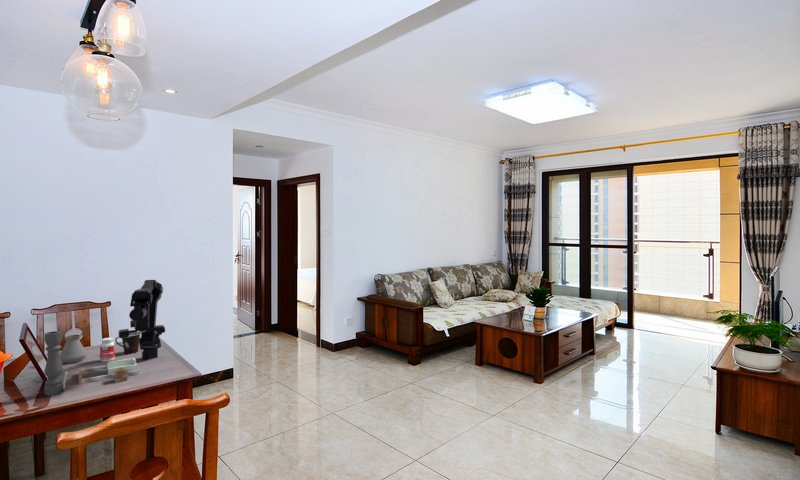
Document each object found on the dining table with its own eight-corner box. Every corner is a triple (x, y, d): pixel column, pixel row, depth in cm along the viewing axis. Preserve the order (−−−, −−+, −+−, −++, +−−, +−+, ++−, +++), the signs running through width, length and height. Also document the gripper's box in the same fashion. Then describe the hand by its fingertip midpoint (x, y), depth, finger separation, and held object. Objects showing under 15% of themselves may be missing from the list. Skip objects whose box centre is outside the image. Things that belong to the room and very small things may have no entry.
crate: (135, 366, 205) (135, 357, 205) (137, 373, 195) (137, 364, 195) (107, 370, 198) (107, 361, 198) (108, 377, 189) (108, 369, 188)
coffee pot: (78, 364, 210) (78, 334, 210) (53, 365, 208) (52, 335, 208) (102, 351, 231) (101, 324, 231) (79, 352, 229) (78, 325, 229)
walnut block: (126, 380, 189) (126, 366, 189) (127, 383, 186) (127, 369, 186) (114, 382, 187) (114, 368, 187) (115, 385, 183) (114, 371, 183)
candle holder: (51, 390, 177) (50, 330, 177) (67, 389, 178) (66, 330, 177) (40, 395, 171) (39, 334, 170) (56, 395, 172) (55, 334, 171)
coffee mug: (144, 351, 233) (144, 333, 233) (129, 355, 225) (129, 336, 225) (128, 348, 237) (128, 331, 237) (113, 353, 229) (113, 334, 229)
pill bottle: (100, 362, 213) (99, 341, 213) (100, 359, 218) (99, 338, 218) (114, 360, 216) (114, 339, 216) (114, 357, 221) (114, 336, 221)
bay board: (135, 367, 207) (135, 359, 206) (138, 376, 194) (138, 368, 194) (79, 376, 194) (79, 367, 194) (78, 387, 181) (78, 377, 181)
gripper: (161, 311, 214) (162, 342, 214) (117, 316, 202) (117, 348, 203) (165, 315, 205) (165, 347, 205) (119, 320, 193) (119, 353, 194)
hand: (142, 349), depth 202 cm, fingers open, 9 cm apart
